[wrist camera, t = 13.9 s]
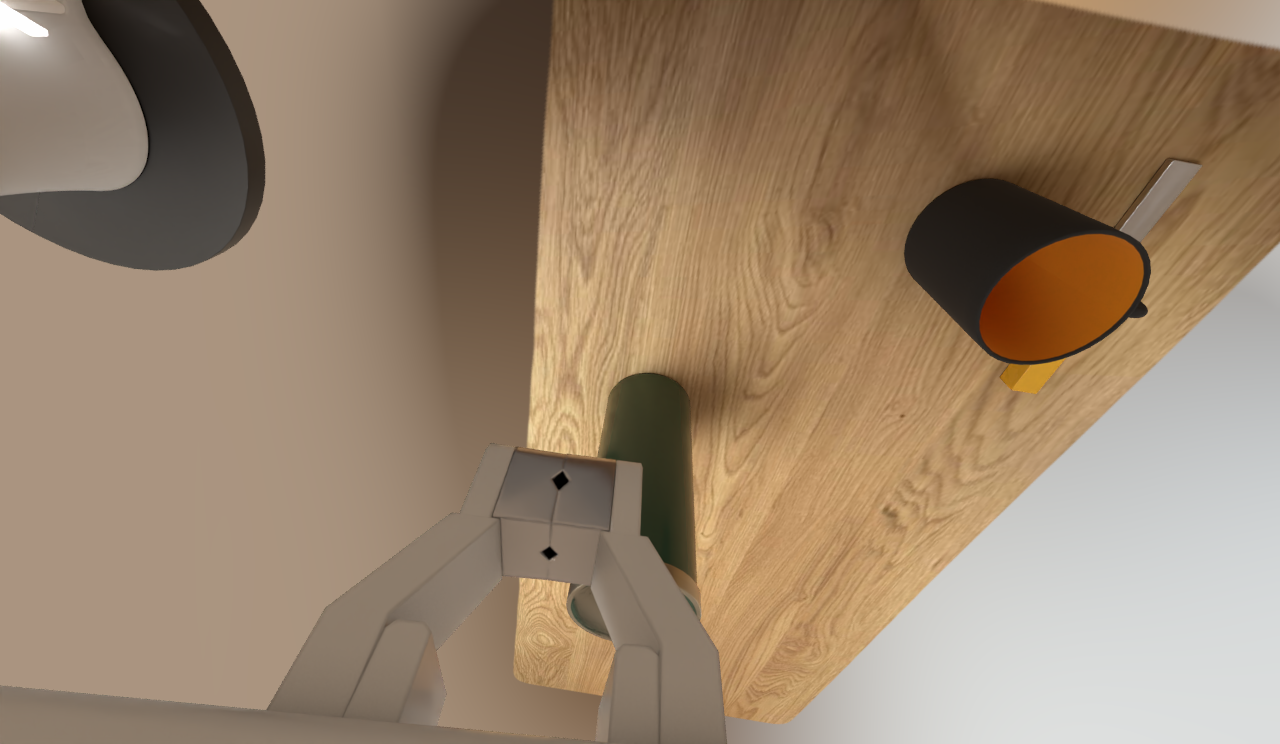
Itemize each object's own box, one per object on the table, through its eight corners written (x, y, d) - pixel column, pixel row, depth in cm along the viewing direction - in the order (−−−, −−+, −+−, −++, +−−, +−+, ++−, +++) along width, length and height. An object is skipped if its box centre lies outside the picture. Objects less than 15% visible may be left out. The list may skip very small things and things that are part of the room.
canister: (588, 404, 46) (539, 607, 29) (649, 355, 42) (631, 557, 26) (648, 450, 49) (634, 656, 33) (710, 408, 45) (729, 618, 29)
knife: (1023, 381, 41) (1036, 394, 39) (999, 377, 41) (1011, 390, 39) (1197, 163, 30) (1224, 170, 29) (1165, 157, 30) (1190, 164, 29)
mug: (1025, 309, 37) (1127, 390, 29) (882, 277, 36) (944, 350, 28) (1107, 205, 32) (1259, 266, 24) (944, 165, 31) (1043, 212, 23)
